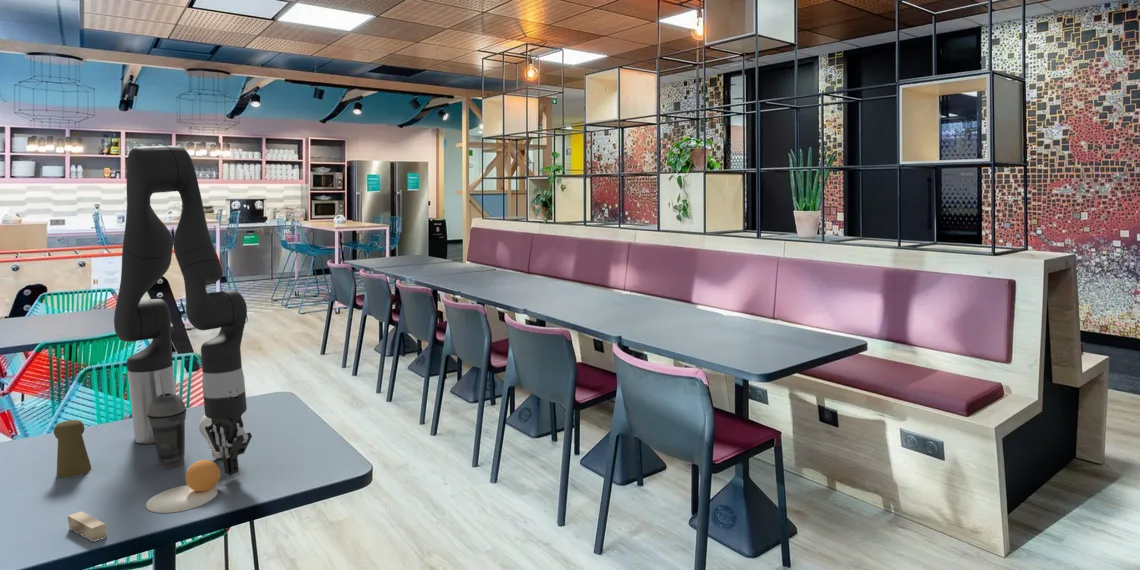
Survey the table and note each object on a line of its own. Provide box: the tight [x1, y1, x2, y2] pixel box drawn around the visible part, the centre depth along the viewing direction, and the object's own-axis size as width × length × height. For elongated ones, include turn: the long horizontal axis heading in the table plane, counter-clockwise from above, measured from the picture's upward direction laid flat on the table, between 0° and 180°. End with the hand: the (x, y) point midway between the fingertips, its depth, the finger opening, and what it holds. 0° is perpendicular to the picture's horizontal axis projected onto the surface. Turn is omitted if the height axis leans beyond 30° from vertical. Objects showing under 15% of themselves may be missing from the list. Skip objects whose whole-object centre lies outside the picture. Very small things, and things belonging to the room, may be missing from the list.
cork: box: [53, 419, 92, 479], centre depth 145 cm, size 6×6×11 cm
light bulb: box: [198, 414, 223, 460], centre depth 151 cm, size 7×7×11 cm
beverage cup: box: [148, 373, 188, 469], centre depth 148 cm, size 7×7×20 cm
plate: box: [145, 484, 219, 514], centre depth 132 cm, size 12×12×1 cm
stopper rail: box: [67, 510, 108, 541], centre depth 119 cm, size 9×2×2 cm, turn 57°
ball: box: [185, 459, 221, 492], centre depth 135 cm, size 6×6×6 cm
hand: (231, 473), depth 140 cm, fingers closed
